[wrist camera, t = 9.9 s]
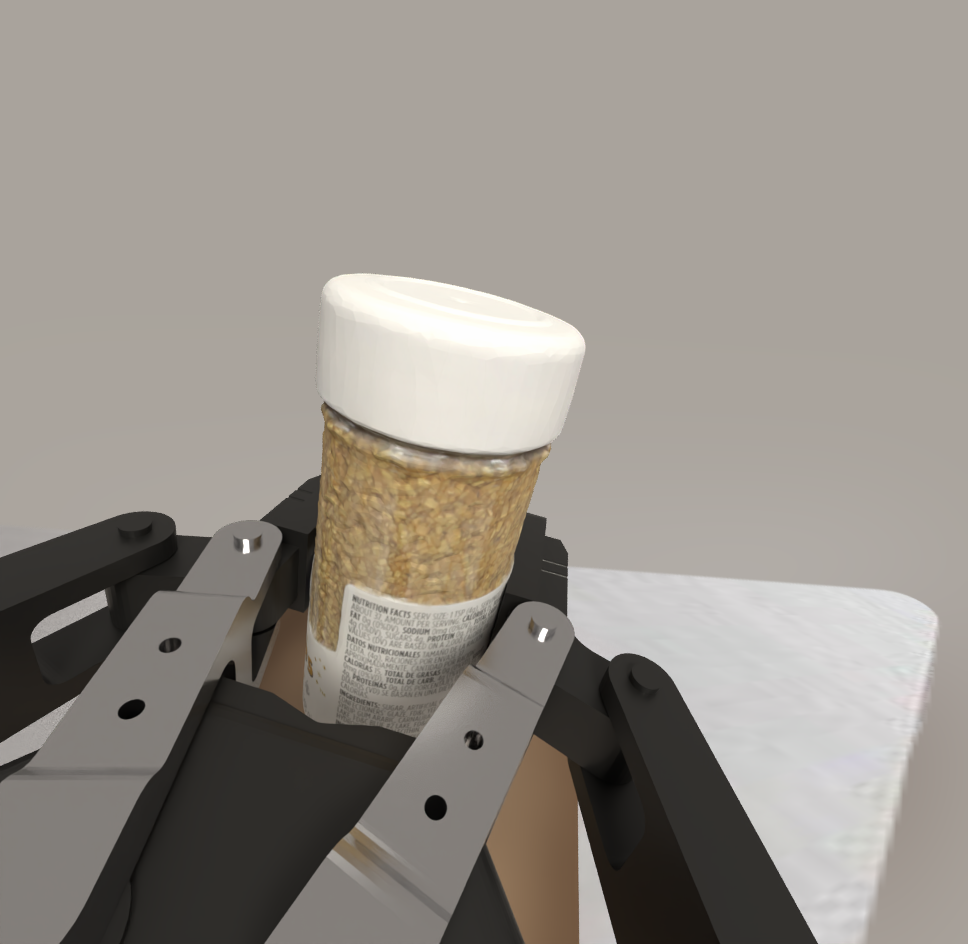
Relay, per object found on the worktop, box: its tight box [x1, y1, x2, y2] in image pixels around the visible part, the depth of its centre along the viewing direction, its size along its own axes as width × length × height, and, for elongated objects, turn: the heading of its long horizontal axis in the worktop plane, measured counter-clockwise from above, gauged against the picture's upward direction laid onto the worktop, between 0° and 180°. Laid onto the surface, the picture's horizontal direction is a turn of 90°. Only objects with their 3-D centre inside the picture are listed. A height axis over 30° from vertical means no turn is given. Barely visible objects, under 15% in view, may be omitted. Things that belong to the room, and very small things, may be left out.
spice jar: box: [303, 274, 585, 738], centre depth 11 cm, size 5×5×13 cm
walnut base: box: [259, 607, 579, 944], centre depth 16 cm, size 14×14×3 cm
